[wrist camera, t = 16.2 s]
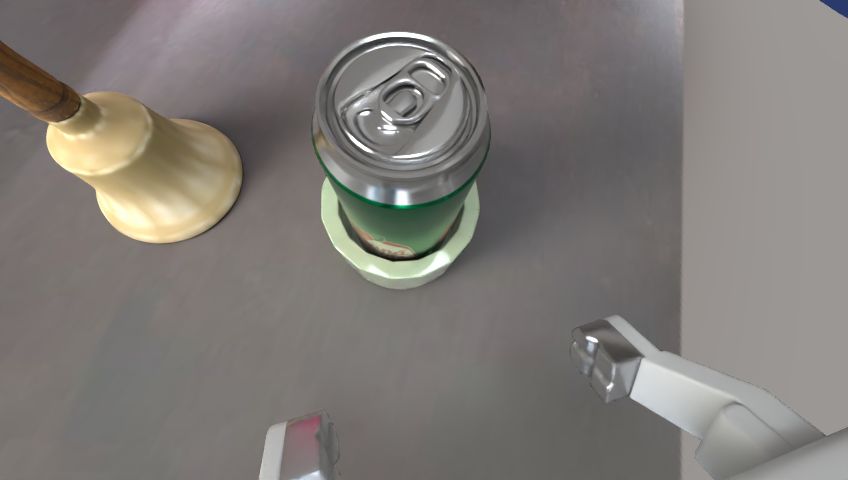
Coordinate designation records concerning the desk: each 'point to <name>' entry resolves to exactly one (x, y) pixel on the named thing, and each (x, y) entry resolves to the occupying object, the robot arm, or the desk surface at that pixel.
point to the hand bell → (131, 154)
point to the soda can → (401, 139)
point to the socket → (398, 271)
